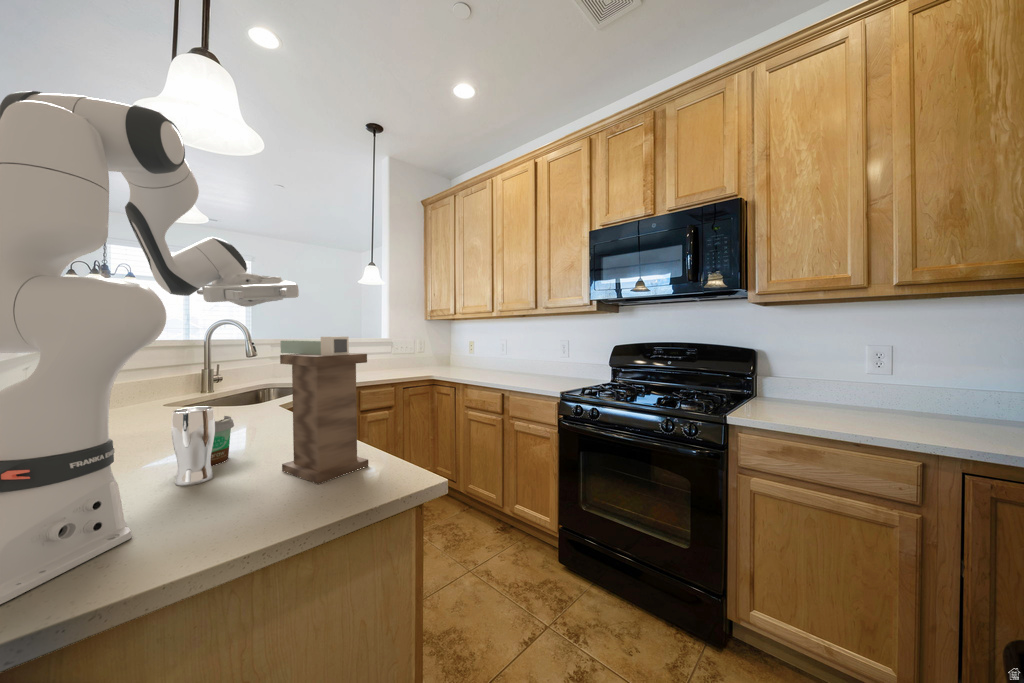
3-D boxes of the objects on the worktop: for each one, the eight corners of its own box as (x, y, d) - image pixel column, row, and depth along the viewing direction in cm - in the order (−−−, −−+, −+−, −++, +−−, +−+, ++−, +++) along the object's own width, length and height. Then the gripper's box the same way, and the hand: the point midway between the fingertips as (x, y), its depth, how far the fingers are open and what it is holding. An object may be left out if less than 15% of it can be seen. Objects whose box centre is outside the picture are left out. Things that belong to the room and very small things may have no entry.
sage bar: (278, 353, 91) (278, 336, 91) (295, 352, 95) (295, 336, 95) (332, 355, 79) (332, 336, 79) (349, 354, 83) (349, 336, 83)
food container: (197, 473, 82) (196, 428, 82) (175, 471, 84) (174, 427, 83) (247, 455, 95) (246, 416, 94) (227, 454, 96) (226, 415, 96)
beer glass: (217, 471, 83) (216, 404, 83) (214, 481, 78) (213, 409, 77) (175, 478, 80) (174, 408, 79) (169, 489, 74) (167, 414, 73)
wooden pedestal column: (282, 471, 84) (280, 354, 83) (332, 456, 94) (331, 352, 93) (317, 484, 76) (315, 356, 76) (368, 466, 86) (367, 353, 86)
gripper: (192, 278, 91) (207, 282, 82) (285, 276, 106) (306, 280, 97) (196, 304, 92) (211, 311, 84) (287, 298, 107) (308, 304, 99)
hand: (263, 294), depth 91 cm, fingers open, 8 cm apart
